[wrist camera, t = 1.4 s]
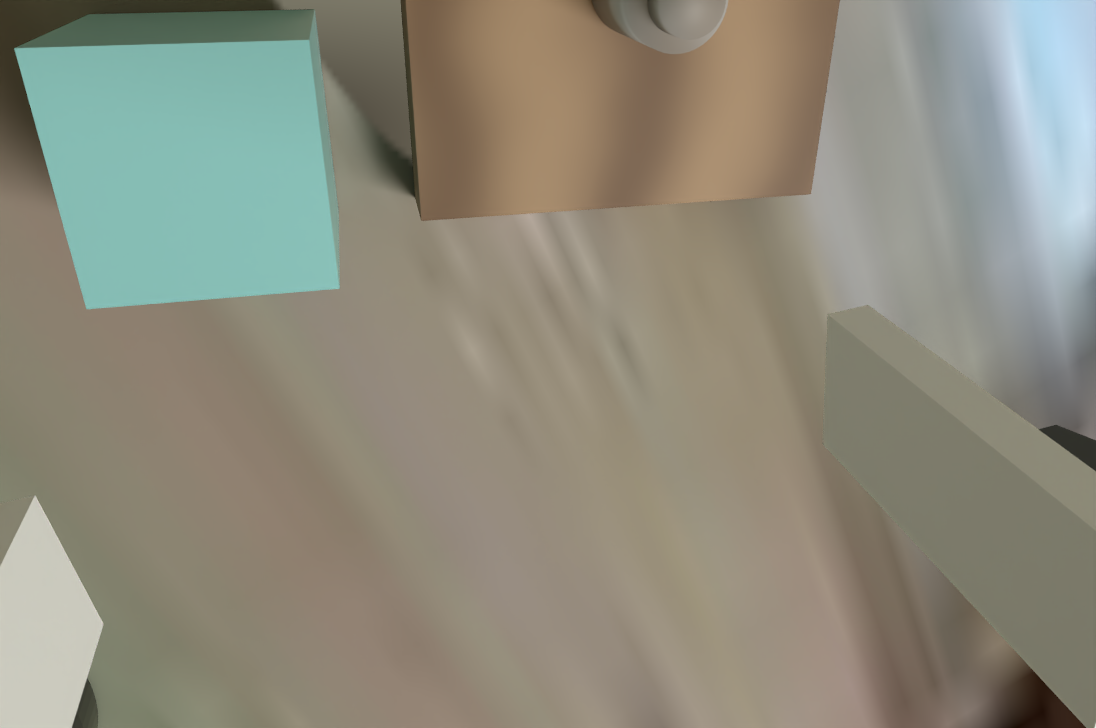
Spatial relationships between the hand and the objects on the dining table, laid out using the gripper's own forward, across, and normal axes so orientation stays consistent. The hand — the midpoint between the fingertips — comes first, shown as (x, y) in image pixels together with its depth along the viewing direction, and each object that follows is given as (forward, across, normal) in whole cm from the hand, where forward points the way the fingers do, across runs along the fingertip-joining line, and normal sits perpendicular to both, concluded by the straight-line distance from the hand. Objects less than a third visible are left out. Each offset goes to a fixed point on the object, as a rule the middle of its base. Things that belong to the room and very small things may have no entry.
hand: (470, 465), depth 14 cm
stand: (+18, +8, +5) cm, 21 cm away
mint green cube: (+18, -5, +3) cm, 19 cm away
